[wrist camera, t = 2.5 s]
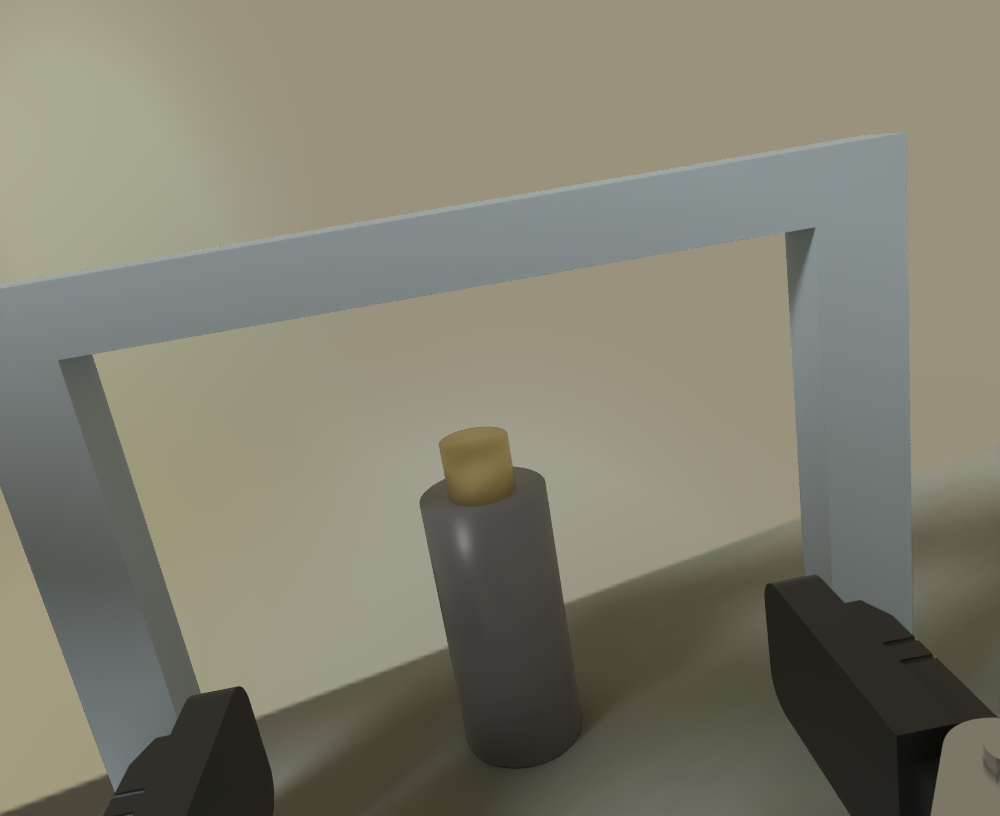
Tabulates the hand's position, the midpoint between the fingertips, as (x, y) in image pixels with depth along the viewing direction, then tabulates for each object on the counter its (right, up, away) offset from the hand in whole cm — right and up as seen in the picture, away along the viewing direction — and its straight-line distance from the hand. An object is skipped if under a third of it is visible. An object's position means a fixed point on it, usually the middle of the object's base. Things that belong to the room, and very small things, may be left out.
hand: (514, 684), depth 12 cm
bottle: (+1, -8, +19) cm, 21 cm away
